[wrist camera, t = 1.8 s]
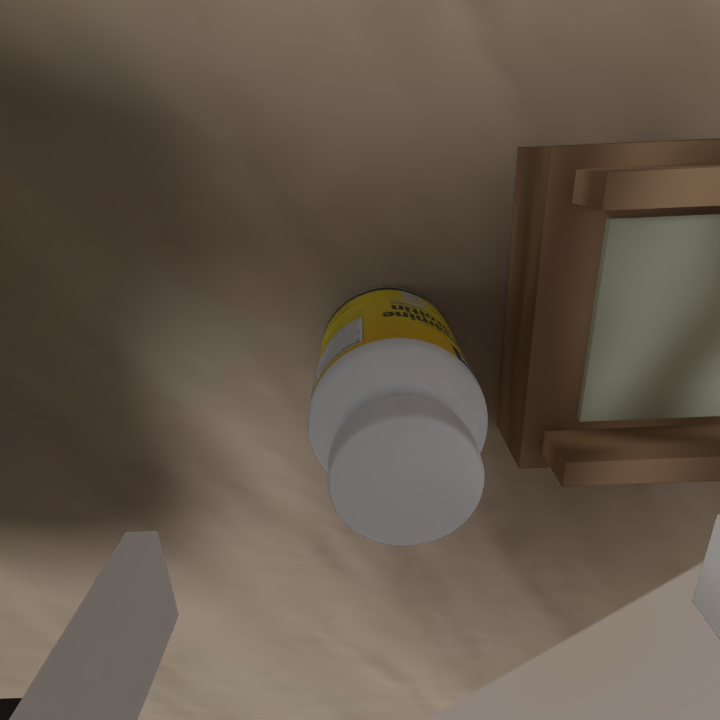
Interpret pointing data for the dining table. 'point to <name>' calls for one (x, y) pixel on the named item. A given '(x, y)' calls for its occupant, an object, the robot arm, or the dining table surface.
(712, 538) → the robot arm
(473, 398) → the pill bottle
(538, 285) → the wooden tray
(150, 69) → the dining table surface
